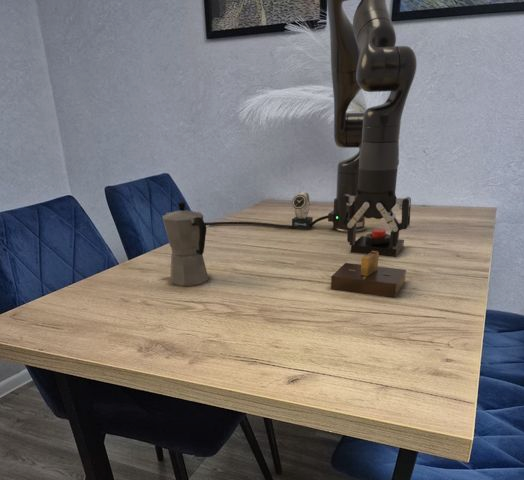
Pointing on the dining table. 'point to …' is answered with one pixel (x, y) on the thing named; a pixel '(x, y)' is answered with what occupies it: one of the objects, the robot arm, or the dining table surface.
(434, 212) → the dining table surface
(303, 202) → the watch
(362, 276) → the plate
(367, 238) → the alarm box
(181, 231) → the coffeepot
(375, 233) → the arm button
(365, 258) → the thumbturn
